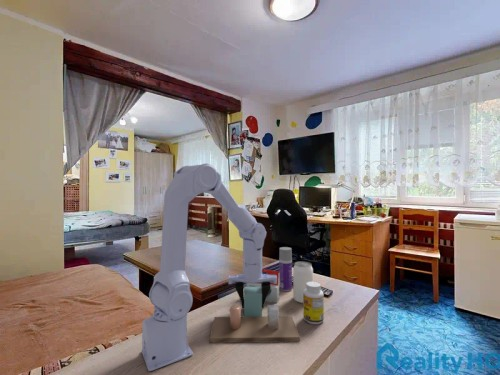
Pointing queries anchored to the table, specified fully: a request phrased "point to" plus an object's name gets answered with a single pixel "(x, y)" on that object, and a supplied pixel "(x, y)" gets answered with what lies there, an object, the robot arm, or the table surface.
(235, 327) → the round post
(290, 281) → the container
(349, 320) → the table surface
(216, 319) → the board
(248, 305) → the teal rectangular block
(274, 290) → the ink cartridge box
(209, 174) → the robot arm
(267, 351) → the table surface
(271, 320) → the post
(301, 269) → the can
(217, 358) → the table surface
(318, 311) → the supplement bottle
